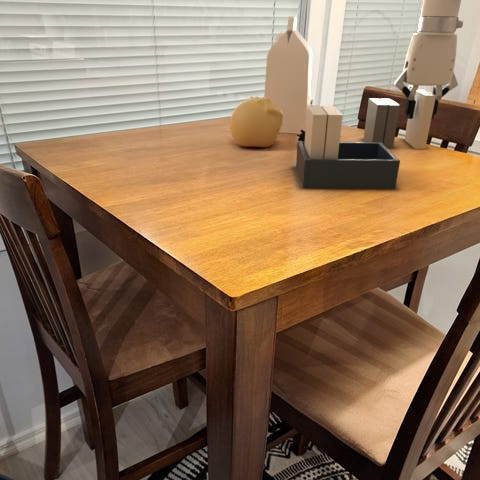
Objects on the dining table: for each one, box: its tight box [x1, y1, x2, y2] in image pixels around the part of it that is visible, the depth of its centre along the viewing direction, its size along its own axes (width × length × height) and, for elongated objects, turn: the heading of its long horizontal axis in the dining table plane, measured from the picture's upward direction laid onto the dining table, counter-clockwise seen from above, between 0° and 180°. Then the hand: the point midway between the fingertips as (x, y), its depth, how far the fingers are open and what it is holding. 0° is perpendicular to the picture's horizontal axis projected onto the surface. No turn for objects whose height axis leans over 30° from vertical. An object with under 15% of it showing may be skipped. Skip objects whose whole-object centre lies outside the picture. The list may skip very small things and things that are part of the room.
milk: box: [263, 16, 313, 135], centre depth 128 cm, size 12×12×26 cm
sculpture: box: [229, 96, 283, 148], centre depth 116 cm, size 12×12×11 cm
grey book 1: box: [362, 97, 388, 143], centre depth 116 cm, size 2×9×10 cm, turn 0°
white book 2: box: [320, 105, 343, 159], centre depth 91 cm, size 2×9×12 cm, turn 0°
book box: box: [295, 141, 401, 190], centre depth 93 cm, size 17×14×6 cm
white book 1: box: [304, 105, 327, 159], centre depth 91 cm, size 2×9×12 cm, turn 0°
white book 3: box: [404, 89, 436, 150], centre depth 115 cm, size 2×9×12 cm, turn 0°
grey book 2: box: [379, 97, 401, 149], centre depth 116 cm, size 2×9×10 cm, turn 0°
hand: (419, 117), depth 115 cm, fingers open, 4 cm apart
